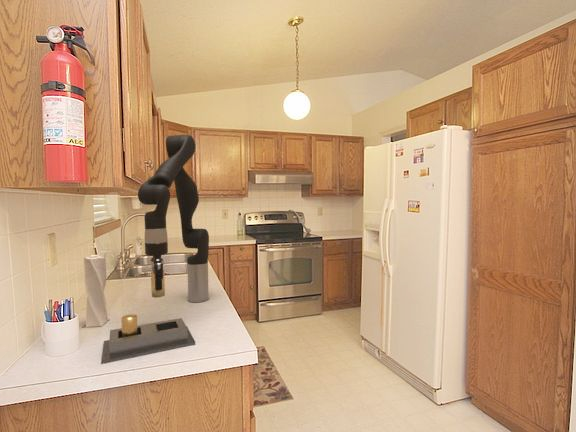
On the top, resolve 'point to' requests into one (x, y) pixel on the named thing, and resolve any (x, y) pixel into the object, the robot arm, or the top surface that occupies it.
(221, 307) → the top surface
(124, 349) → the jig
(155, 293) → the gold and grey cylinder
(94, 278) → the skyscraper
